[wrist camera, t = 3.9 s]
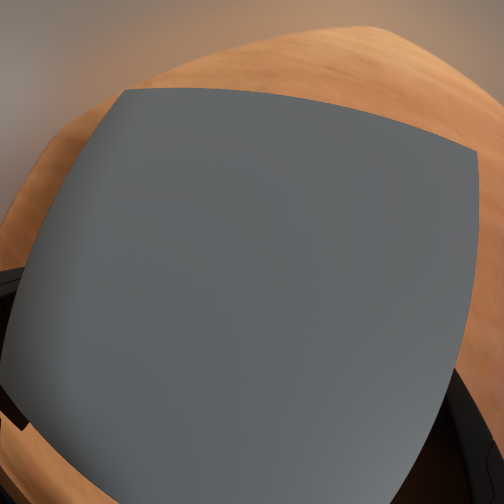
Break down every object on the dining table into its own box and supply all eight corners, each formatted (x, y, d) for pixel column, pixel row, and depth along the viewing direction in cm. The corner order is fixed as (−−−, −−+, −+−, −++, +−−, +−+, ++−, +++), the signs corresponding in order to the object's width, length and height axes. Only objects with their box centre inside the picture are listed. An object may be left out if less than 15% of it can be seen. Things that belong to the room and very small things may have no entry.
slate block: (314, 395, 13) (322, 581, 1) (227, 361, 15) (-3, 379, 3) (347, 306, 14) (476, 151, 2) (260, 277, 16) (124, 89, 4)
